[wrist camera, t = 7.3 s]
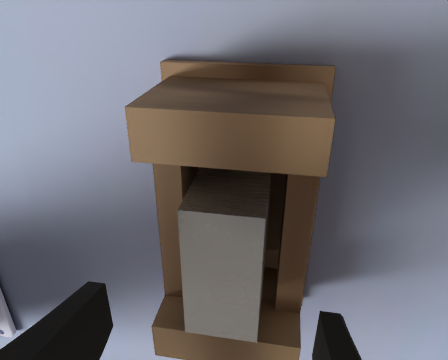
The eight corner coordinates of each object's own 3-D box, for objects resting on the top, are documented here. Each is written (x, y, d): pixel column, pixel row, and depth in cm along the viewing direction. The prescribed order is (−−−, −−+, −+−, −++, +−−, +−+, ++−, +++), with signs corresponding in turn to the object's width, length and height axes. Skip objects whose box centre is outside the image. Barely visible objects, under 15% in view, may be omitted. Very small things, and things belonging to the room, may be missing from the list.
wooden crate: (179, 283, 23) (148, 361, 18) (164, 59, 17) (111, 88, 12) (301, 298, 22) (303, 387, 17) (334, 65, 16) (352, 99, 11)
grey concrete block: (213, 244, 21) (184, 332, 15) (212, 144, 18) (177, 210, 12) (266, 250, 20) (256, 342, 15) (274, 149, 17) (265, 218, 12)
